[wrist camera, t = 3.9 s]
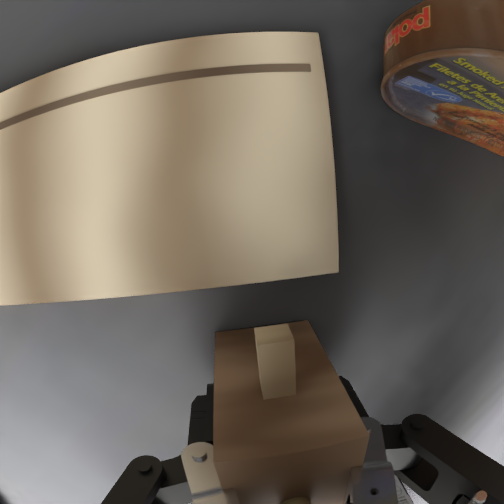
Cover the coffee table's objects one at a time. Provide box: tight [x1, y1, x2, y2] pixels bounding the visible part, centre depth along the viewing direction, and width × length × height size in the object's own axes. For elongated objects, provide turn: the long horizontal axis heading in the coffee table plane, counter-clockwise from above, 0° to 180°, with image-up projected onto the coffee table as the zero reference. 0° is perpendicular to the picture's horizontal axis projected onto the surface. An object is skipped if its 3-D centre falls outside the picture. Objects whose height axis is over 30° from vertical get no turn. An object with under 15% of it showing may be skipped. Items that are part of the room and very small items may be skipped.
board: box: [0, 32, 339, 305], centre depth 10 cm, size 22×9×2 cm, turn 95°
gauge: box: [213, 320, 370, 504], centre depth 10 cm, size 4×10×8 cm, turn 5°
